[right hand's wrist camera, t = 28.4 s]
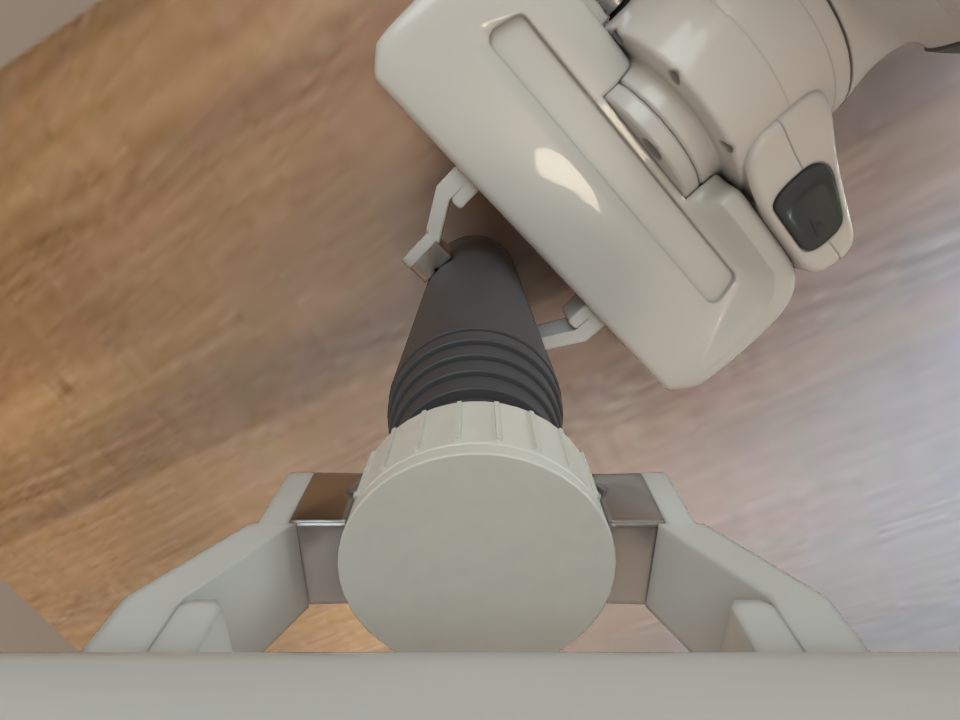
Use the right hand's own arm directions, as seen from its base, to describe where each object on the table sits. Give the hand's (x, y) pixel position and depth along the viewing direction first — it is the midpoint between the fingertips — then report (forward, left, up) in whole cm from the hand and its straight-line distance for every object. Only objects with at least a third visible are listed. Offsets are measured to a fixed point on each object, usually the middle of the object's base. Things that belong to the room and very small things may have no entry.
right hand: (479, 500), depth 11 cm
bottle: (0, 0, -20) cm, 20 cm away
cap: (0, 0, +2) cm, 2 cm away
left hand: (-1, 0, -15) cm, 15 cm away
